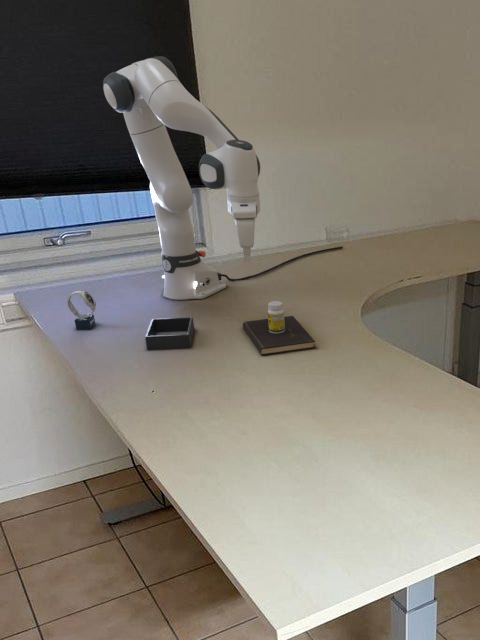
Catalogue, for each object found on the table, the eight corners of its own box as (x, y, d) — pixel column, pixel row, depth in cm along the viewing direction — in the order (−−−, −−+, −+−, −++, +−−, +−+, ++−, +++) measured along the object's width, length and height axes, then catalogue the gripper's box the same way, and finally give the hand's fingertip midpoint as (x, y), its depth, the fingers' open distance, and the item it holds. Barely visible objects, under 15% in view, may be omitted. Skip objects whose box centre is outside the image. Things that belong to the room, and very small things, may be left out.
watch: (97, 329, 228) (90, 294, 223) (70, 330, 228) (63, 294, 222) (101, 323, 233) (95, 288, 227) (75, 323, 233) (68, 289, 227)
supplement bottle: (269, 328, 221) (267, 300, 217) (285, 327, 222) (283, 300, 217) (268, 334, 217) (266, 306, 213) (285, 333, 218) (283, 305, 213)
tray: (153, 331, 227) (151, 318, 225) (194, 329, 228) (192, 317, 226) (147, 350, 214) (145, 336, 212) (190, 348, 215) (188, 334, 213)
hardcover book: (293, 322, 232) (293, 315, 231) (315, 348, 214) (315, 340, 213) (242, 329, 228) (242, 321, 227) (260, 356, 209) (260, 348, 208)
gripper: (231, 198, 213) (235, 247, 221) (232, 213, 196) (236, 266, 203) (254, 197, 214) (257, 246, 221) (256, 212, 197) (259, 265, 204)
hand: (247, 256), depth 212 cm, fingers open, 8 cm apart
